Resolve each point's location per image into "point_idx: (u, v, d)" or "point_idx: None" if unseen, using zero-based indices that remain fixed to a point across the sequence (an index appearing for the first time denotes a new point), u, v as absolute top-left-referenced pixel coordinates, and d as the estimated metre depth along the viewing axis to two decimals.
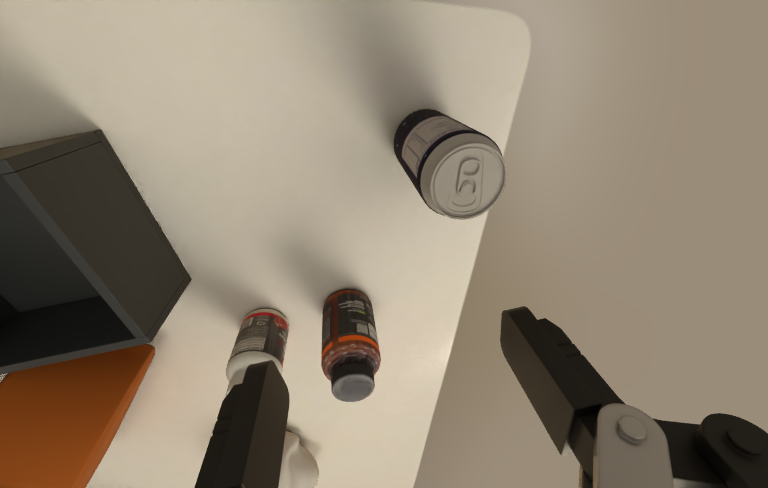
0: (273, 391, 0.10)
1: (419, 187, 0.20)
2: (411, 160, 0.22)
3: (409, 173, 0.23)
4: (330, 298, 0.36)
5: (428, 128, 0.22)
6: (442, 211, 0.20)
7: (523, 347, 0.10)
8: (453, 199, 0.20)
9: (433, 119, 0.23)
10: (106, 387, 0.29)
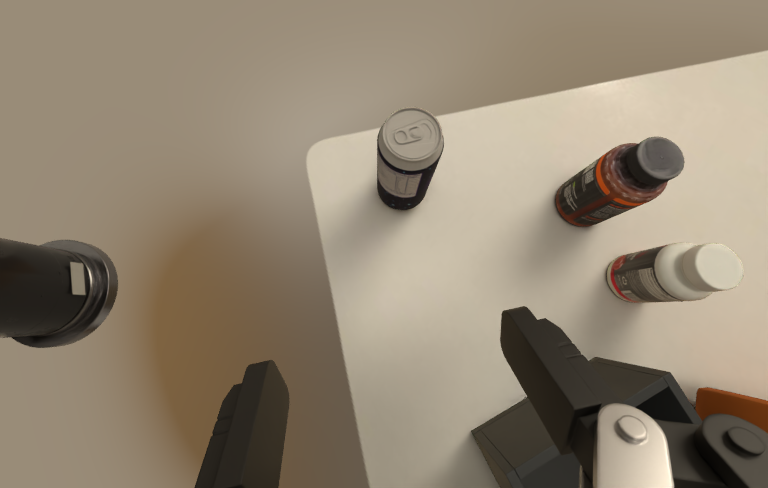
0: (273, 391, 0.10)
1: (427, 168, 0.26)
2: (412, 184, 0.29)
3: (423, 182, 0.29)
4: (572, 221, 0.36)
5: (387, 181, 0.30)
6: (439, 143, 0.26)
7: (523, 348, 0.10)
8: (427, 139, 0.26)
9: (381, 181, 0.31)
10: (763, 424, 0.25)
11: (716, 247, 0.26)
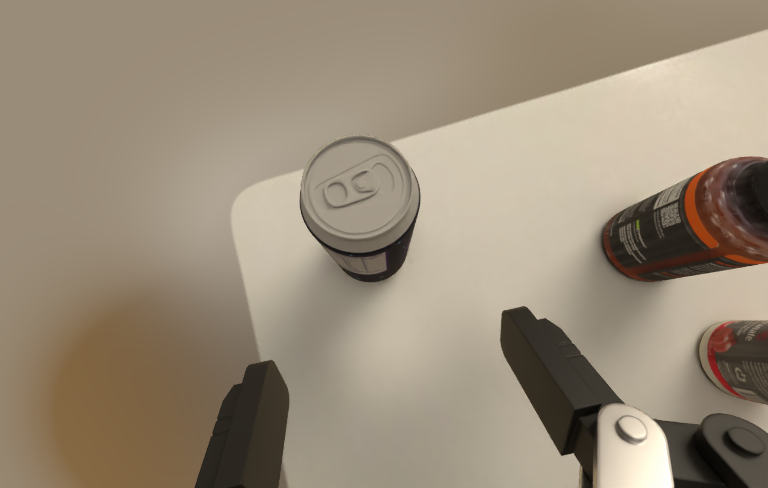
0: (273, 391, 0.10)
1: (394, 243, 0.14)
2: (375, 263, 0.17)
3: (394, 257, 0.17)
4: (635, 276, 0.23)
5: (334, 258, 0.18)
6: (409, 198, 0.13)
7: (523, 348, 0.10)
8: (388, 193, 0.14)
9: None
10: None
11: None
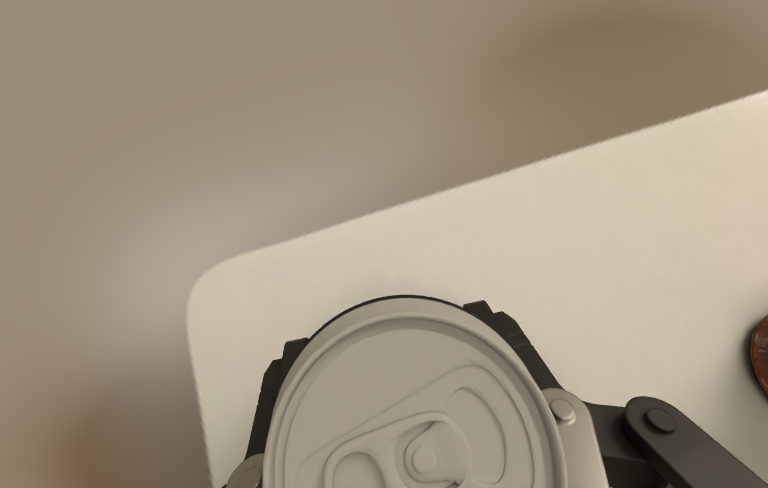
0: None
1: None
2: None
3: None
4: None
5: None
6: None
7: None
8: (493, 480, 0.05)
9: None
10: None
11: None
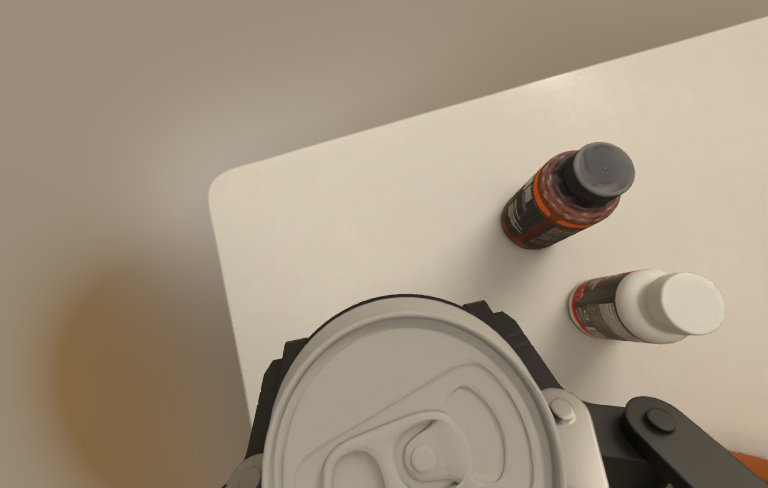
0: None
1: None
2: None
3: None
4: (522, 244, 0.30)
5: None
6: None
7: None
8: (492, 478, 0.05)
9: None
10: None
11: (687, 278, 0.20)
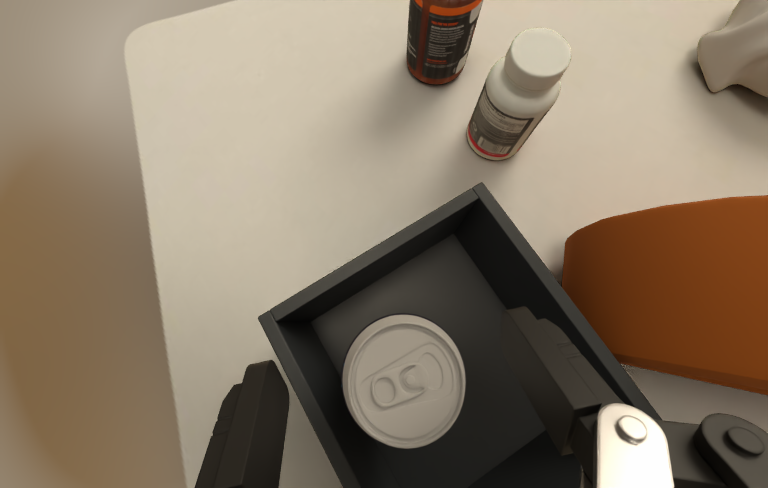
0: (273, 391, 0.10)
1: None
2: None
3: None
4: (423, 78, 0.31)
5: None
6: (460, 398, 0.13)
7: (523, 348, 0.10)
8: (437, 388, 0.13)
9: None
10: (612, 240, 0.20)
11: (537, 31, 0.21)
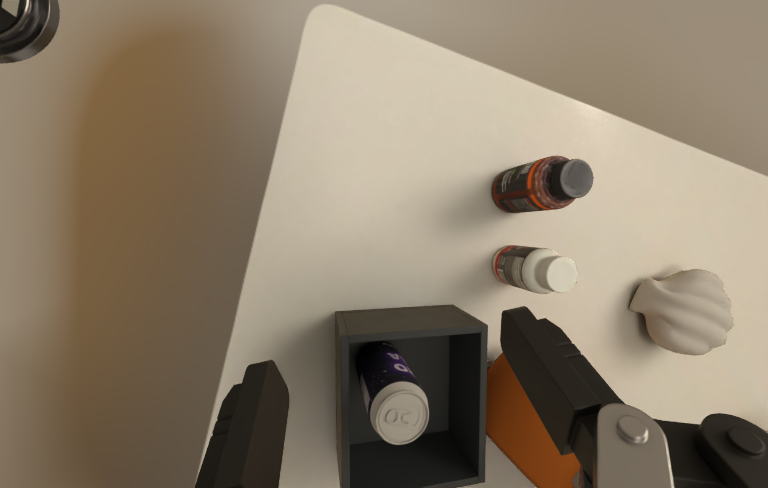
0: (273, 391, 0.10)
1: None
2: None
3: None
4: (497, 201, 0.41)
5: None
6: (419, 433, 0.28)
7: (523, 347, 0.10)
8: (412, 425, 0.28)
9: (361, 388, 0.33)
10: None
11: (569, 262, 0.34)
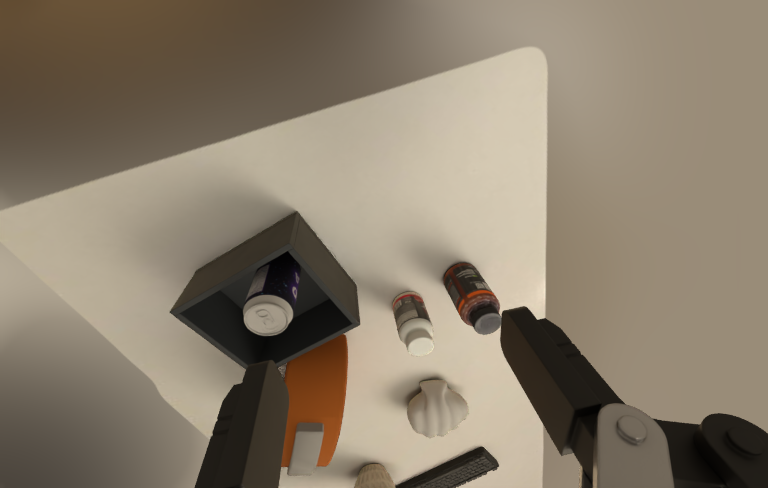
0: (273, 391, 0.10)
1: None
2: None
3: None
4: (447, 273, 0.51)
5: (252, 283, 0.38)
6: (263, 334, 0.37)
7: (524, 348, 0.09)
8: (265, 327, 0.36)
9: (259, 272, 0.39)
10: (335, 360, 0.48)
11: (431, 346, 0.46)
